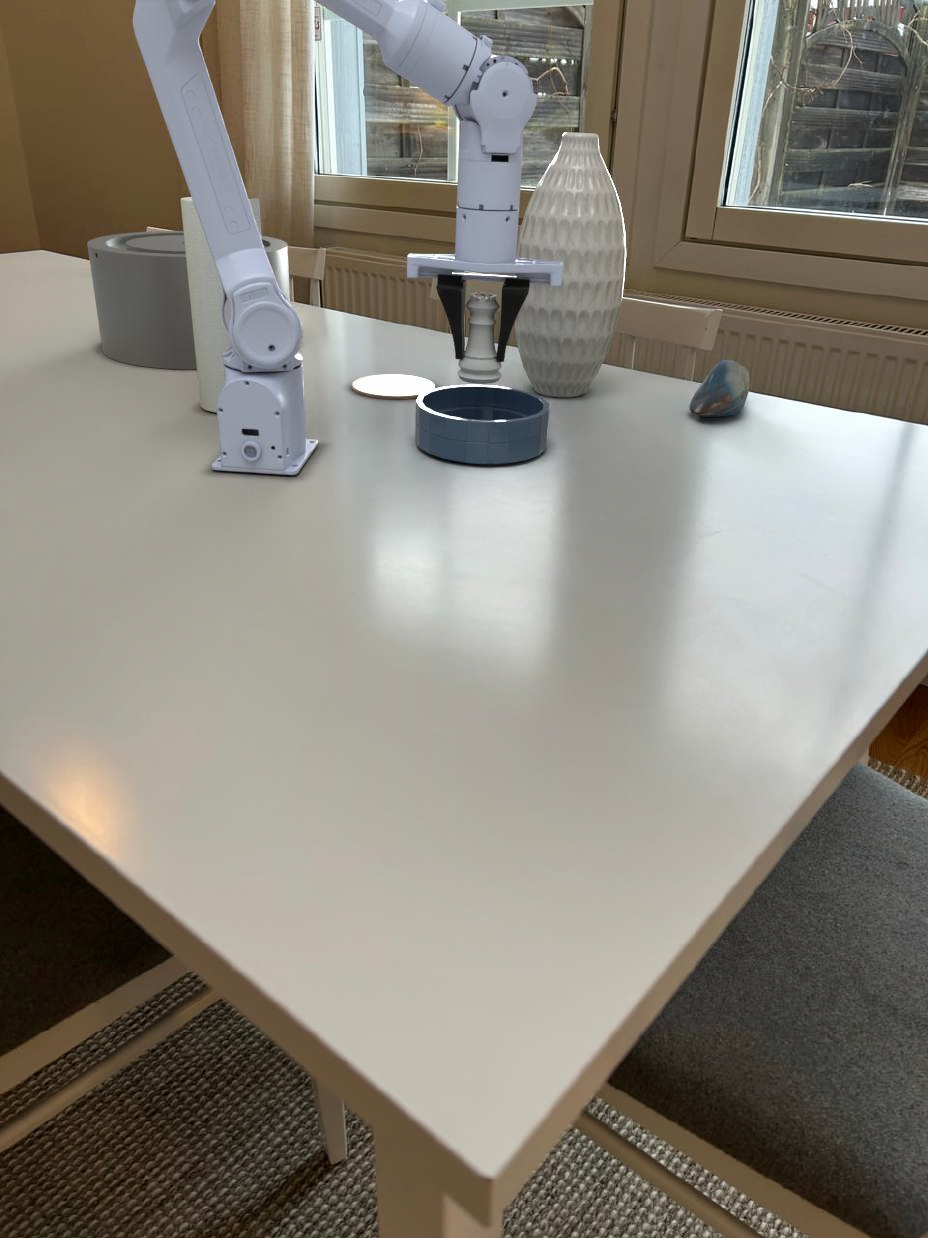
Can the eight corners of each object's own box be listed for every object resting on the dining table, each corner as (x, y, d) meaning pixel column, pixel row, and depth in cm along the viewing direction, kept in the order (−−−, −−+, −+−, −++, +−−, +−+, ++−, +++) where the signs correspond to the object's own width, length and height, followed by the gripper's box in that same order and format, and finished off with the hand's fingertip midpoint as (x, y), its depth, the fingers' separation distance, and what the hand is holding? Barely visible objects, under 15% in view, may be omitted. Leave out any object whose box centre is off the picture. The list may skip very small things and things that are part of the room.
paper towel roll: (194, 413, 102) (172, 197, 92) (208, 398, 108) (189, 192, 98) (261, 416, 103) (246, 200, 92) (271, 400, 108) (259, 195, 98)
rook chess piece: (497, 386, 92) (502, 300, 88) (452, 382, 92) (455, 296, 89) (505, 375, 96) (510, 292, 92) (461, 371, 96) (465, 289, 93)
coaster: (429, 401, 110) (429, 398, 110) (344, 396, 111) (344, 392, 111) (439, 379, 119) (439, 376, 119) (360, 375, 119) (360, 372, 119)
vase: (491, 381, 119) (503, 129, 106) (581, 375, 124) (604, 132, 110) (533, 408, 109) (553, 133, 96) (630, 401, 113) (662, 136, 100)
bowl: (545, 471, 90) (548, 425, 88) (407, 463, 91) (408, 417, 89) (546, 430, 102) (549, 388, 100) (424, 422, 103) (425, 381, 101)
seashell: (700, 403, 103) (775, 349, 103) (662, 391, 111) (731, 341, 111) (723, 450, 106) (796, 397, 106) (684, 434, 114) (752, 386, 114)
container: (72, 339, 130) (56, 236, 124) (234, 320, 145) (227, 227, 139) (154, 379, 114) (140, 262, 108) (327, 353, 129) (324, 249, 123)
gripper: (567, 207, 90) (554, 353, 96) (414, 200, 91) (412, 344, 97) (567, 215, 84) (554, 370, 90) (404, 206, 84) (402, 360, 91)
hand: (480, 358), depth 93 cm, fingers closed on rook chess piece, 3 cm apart
